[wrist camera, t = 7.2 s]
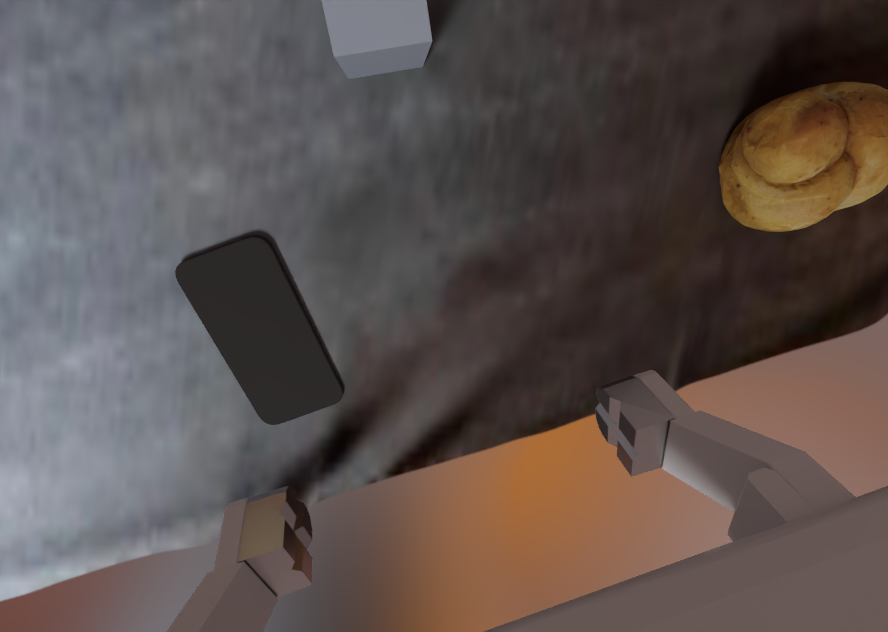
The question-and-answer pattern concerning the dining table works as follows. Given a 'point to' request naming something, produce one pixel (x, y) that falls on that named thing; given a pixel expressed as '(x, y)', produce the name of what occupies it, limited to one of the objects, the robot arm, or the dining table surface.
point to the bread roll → (806, 156)
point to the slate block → (378, 35)
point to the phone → (260, 328)
